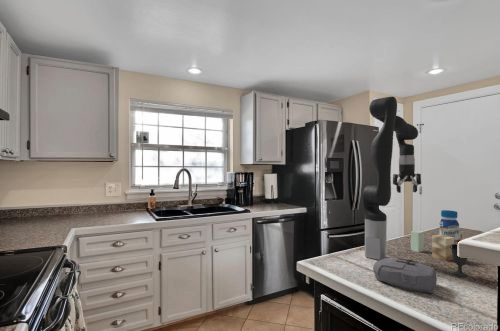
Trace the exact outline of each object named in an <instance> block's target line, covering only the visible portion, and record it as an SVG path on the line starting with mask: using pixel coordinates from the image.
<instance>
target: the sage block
mask: <svg viewBox="0 0 500 331" xmlns="http://www.w3.org/2000/svg"><path fill="white" fill-rule="evenodd" d="M424 237H425V234H424V231H421V230H411V231H410V250H411V251H413V252H416V253H420V252H421V253H422V252H424V251H425V248H424V247H425V241H424V240H425V238H424Z"/></svg>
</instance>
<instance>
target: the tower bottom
mask: <svg viewBox="0 0 500 331" xmlns="http://www.w3.org/2000/svg"><path fill="white" fill-rule="evenodd" d="M431 247H432V246H431ZM431 257H432V258H434V259H437V260H441V261H443V262H449V261H452V260H453V256H452V250H451V249H449V250H444V249H440V248H436V247H432V248H431ZM453 261H454V260H453Z"/></svg>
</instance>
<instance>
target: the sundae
mask: <svg viewBox="0 0 500 331" xmlns="http://www.w3.org/2000/svg"><path fill="white" fill-rule="evenodd" d="M462 236H463V235H460V234H459V237H460V238H459V239H458V240H457V241H456V242H454V244H453V245H451V246H450V248H451V250H452V256H453V262H454V264H456V265H457V270H456V271H451V274H452V275H455V276H456V277H463V278H467V277H468V276H469V275H468V274H467V273H465V272H463V270H462V269H463V266H465V265H466V264H467V262H468V258H460V257H458V256H457V244H458V242H459V241H461V238H463V237H462Z"/></svg>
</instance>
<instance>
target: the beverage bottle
mask: <svg viewBox="0 0 500 331" xmlns="http://www.w3.org/2000/svg"><path fill="white" fill-rule="evenodd" d="M440 216H441V219H440V221H439V223H438V224H439V227H438V230H439V235H444V236H449V237H453V238H454V242H456V241H457V240H458V239H460V231H461V230H460V223H459V221H458V220H457V218H458V211H456V210H447V209H444V210H443V209H441V211H440Z"/></svg>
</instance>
